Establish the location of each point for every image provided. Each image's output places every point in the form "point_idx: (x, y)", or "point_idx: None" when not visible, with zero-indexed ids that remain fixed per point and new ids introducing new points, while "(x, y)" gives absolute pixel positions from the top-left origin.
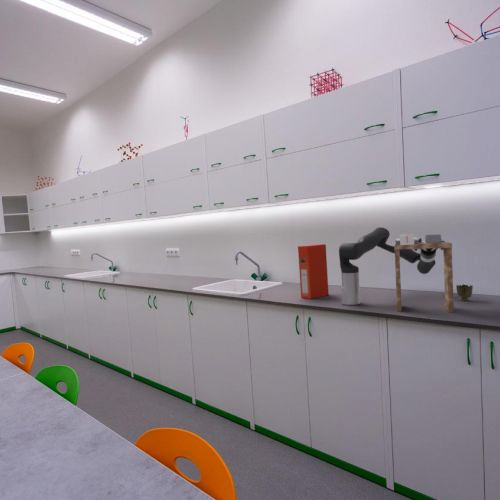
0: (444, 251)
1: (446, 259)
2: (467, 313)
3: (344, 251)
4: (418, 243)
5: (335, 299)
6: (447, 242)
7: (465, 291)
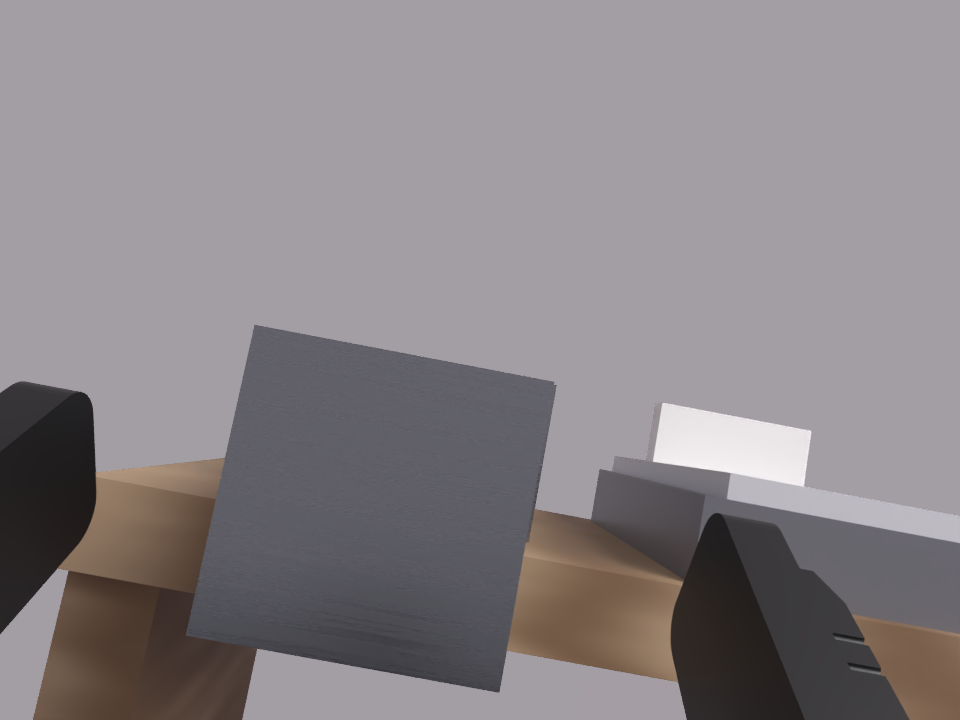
0: (197, 642)
1: (236, 689)
2: None
3: None
4: (595, 510)
5: None
6: (220, 467)
7: None
